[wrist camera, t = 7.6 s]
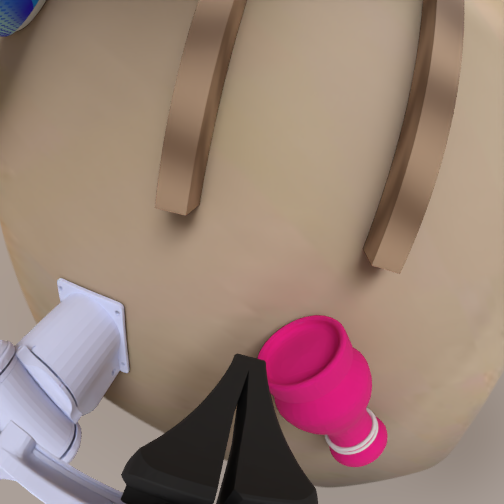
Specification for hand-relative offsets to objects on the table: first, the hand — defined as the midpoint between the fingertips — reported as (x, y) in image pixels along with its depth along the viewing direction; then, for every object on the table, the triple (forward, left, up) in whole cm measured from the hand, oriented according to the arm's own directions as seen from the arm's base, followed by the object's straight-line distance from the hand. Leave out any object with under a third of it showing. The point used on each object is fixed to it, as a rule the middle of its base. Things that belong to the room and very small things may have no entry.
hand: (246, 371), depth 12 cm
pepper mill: (-2, -3, -5) cm, 6 cm away
